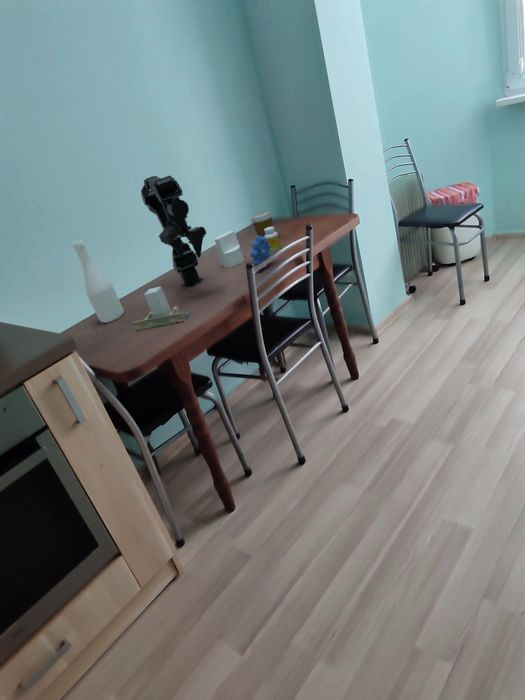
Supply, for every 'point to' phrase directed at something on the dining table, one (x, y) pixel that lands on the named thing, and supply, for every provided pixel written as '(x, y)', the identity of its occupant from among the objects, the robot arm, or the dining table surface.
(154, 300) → the grey block
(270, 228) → the supplement bottle
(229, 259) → the cylinder with rectangular tab
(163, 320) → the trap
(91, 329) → the dining table surface
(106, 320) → the wine bottle
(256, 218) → the disposable coffee cup
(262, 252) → the grapes
